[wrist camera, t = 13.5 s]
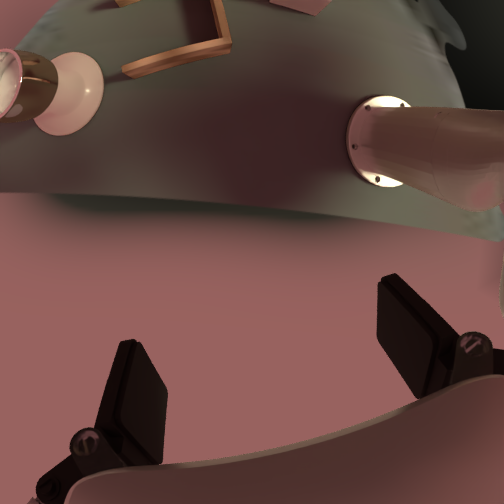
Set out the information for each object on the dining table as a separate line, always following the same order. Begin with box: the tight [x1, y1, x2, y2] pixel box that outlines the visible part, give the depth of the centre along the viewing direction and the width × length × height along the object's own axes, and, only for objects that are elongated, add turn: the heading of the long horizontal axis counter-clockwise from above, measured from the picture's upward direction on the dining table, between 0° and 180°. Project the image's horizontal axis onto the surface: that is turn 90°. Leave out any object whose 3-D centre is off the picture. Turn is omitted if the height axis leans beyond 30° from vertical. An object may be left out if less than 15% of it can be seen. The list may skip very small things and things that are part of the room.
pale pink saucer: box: [33, 52, 104, 136], centre depth 29 cm, size 11×11×1 cm
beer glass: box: [0, 48, 86, 123], centre depth 22 cm, size 7×7×15 cm
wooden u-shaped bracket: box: [114, 0, 232, 79], centre depth 26 cm, size 12×12×5 cm
